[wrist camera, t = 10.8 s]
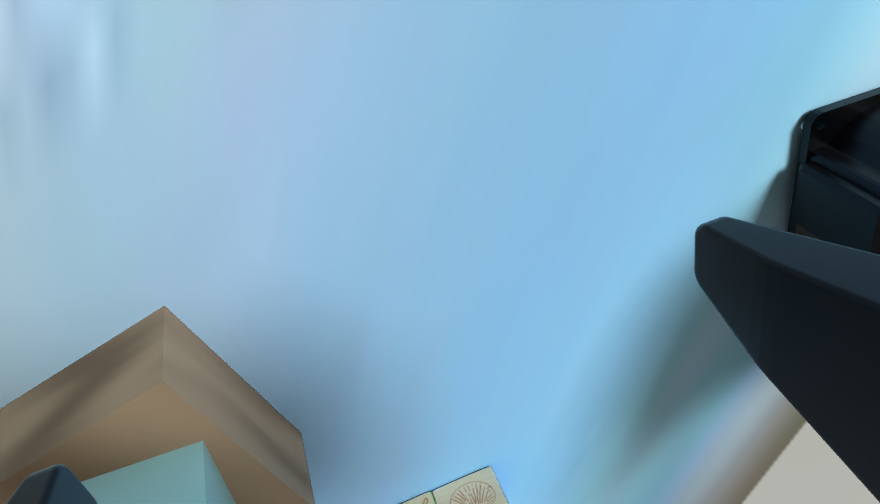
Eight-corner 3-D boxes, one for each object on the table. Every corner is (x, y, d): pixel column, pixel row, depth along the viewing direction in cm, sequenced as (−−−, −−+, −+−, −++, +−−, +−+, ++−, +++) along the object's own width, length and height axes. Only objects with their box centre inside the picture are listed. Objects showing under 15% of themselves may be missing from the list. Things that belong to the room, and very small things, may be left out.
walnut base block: (164, 300, 23) (162, 381, 20) (300, 428, 28) (315, 509, 24) (-39, 427, 23) (-74, 529, 20) (130, 532, 28) (124, 627, 24)
